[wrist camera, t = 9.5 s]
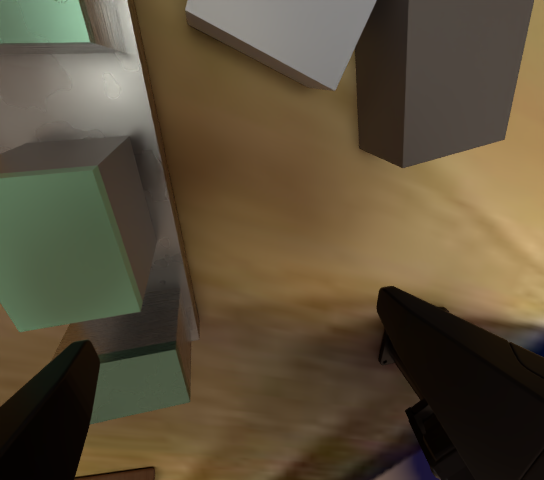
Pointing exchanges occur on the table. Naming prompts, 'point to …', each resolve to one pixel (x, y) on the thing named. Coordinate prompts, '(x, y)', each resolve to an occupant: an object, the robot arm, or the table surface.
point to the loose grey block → (437, 76)
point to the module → (72, 232)
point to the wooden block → (125, 475)
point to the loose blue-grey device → (288, 33)
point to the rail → (150, 162)
